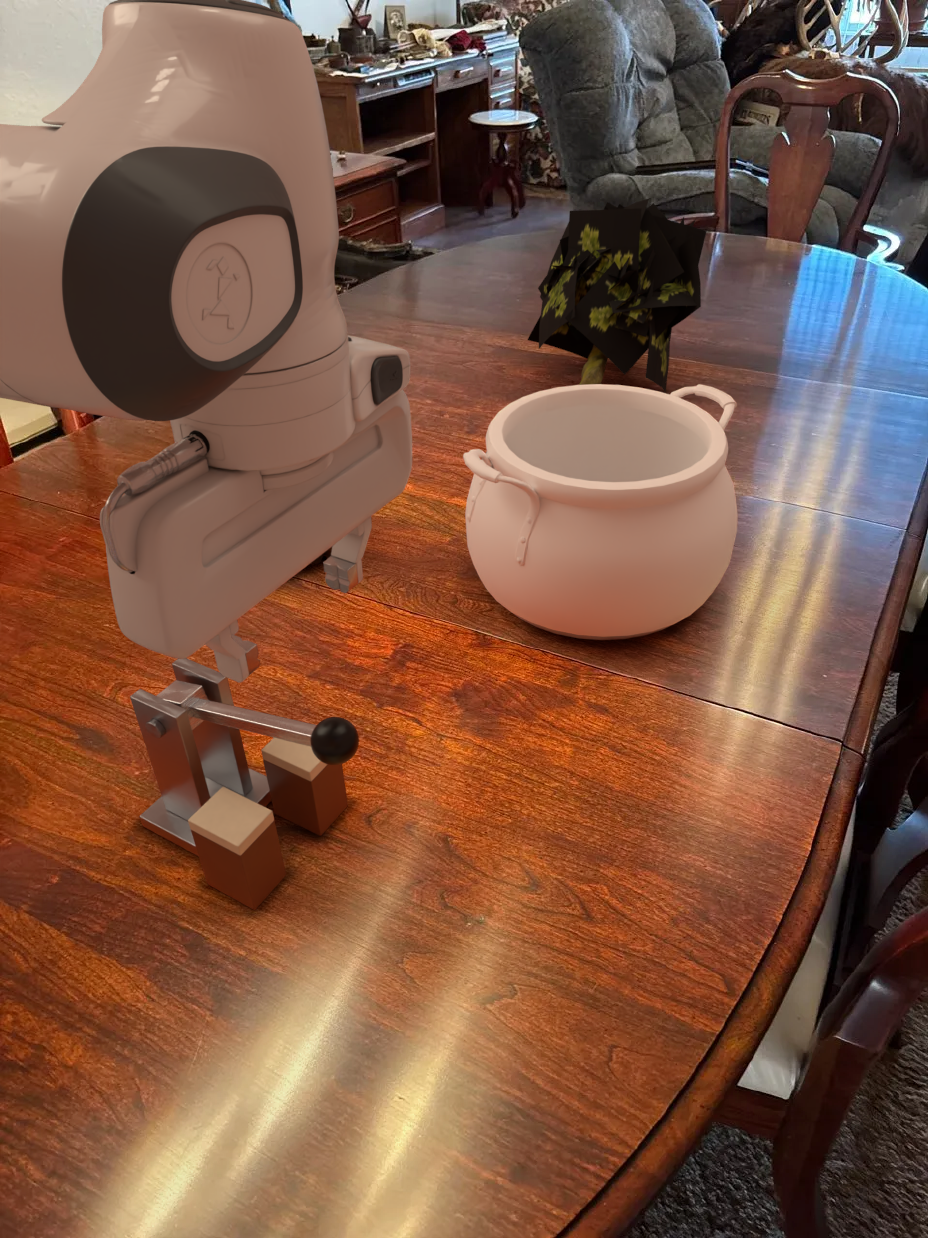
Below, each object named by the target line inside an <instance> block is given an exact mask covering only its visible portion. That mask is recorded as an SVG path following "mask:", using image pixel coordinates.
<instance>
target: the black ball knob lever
mask: <svg viewBox="0 0 928 1238" xmlns="http://www.w3.org/2000/svg"><path fill="white" fill-rule="evenodd" d="M156 696H157V697H160V698H162V699H164V700H166V701H168V702H170V703H173V704H175V705H177V706H179V707H181V708H184V709H186V710H187V714H188V717H189V721H190V725H191V728H192V730H194V729H195V728H196V727H197V726H198V725H200V724H201V723H202V722H203V721H204V720H205V721H209V722H213V723H217V724H221V725H225V726H229V727H233V728H237V729H240V731H245V732H250V733H254V734H258V735H261V736H264V737H265V736H266V737H270V738H272V739H273V738H277V739H282V740H286V741H290V742H294V743H298V744H302V745H306V746H310V747H311V748H312V751H313V753H314V755H315V756H316V757H317V758H318V759H319V760H320V761H321V762H323V763H325V764H328V765H340V764H342V765H343V764H345V763H348V762H349V761H350V760H352V759H353V757H354V756H355V755H356V753H357V751H358V749H359V745H360V737H359V732H358V730H357V728H356V726H355V725H354V724H353V722H351V721H350V720H348V719H346V718H344V717H341V716H330V717H326V718H324V719H321V721H319V722H318V723H317V724H315V723H313V724H312V723H310V722H305V721H301V720H297V719H292V718H287V717H283V716H280V715H275V714H270V713H266V712H262V711H259V710H258V711H257V710H253V709H248V708H244V707H241V706H235V705H234V706H232V705H227V704H223V703H219V702H214V701H210V700H208V698H207V695H206V693H205V691H204V689H203V686H202V685H197V684H192V683H188V682H183V681H179V680H176V679H175V680H174V681H173V682H171V683H169V685H168V686H166V687H165V688H164V689H163V690H162V691H160V692H159V693H158V694H156Z"/></svg>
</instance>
